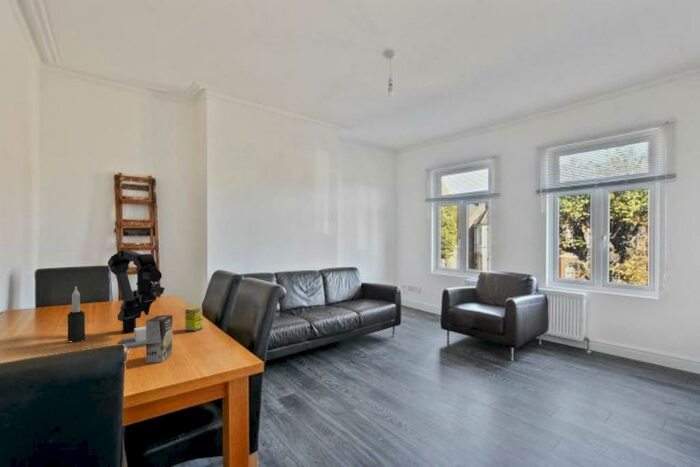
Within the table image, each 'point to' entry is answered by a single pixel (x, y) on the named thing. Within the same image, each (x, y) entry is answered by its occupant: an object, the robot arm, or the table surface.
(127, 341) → the rubber mat
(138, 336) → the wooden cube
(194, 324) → the supplement box
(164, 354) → the coffee box
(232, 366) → the table surface
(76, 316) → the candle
